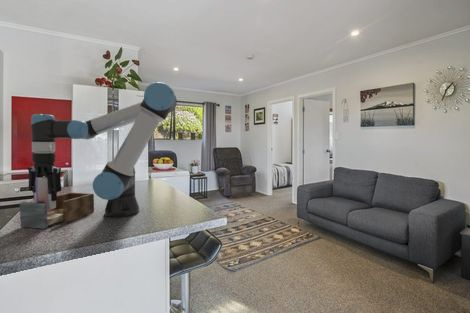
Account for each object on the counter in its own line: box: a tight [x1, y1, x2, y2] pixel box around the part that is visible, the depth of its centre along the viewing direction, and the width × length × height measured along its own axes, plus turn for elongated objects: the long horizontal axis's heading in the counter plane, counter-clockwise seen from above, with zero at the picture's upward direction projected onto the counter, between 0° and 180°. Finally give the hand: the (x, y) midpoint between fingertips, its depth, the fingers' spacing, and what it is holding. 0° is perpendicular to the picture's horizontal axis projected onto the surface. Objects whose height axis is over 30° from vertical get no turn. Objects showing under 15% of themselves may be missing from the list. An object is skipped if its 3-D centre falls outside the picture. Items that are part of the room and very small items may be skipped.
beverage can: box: [35, 176, 55, 214], centre depth 100 cm, size 6×6×15 cm
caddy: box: [55, 192, 95, 223], centre depth 111 cm, size 16×13×9 cm
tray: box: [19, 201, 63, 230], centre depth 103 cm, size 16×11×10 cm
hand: (45, 208), depth 100 cm, fingers closed on beverage can, 6 cm apart
